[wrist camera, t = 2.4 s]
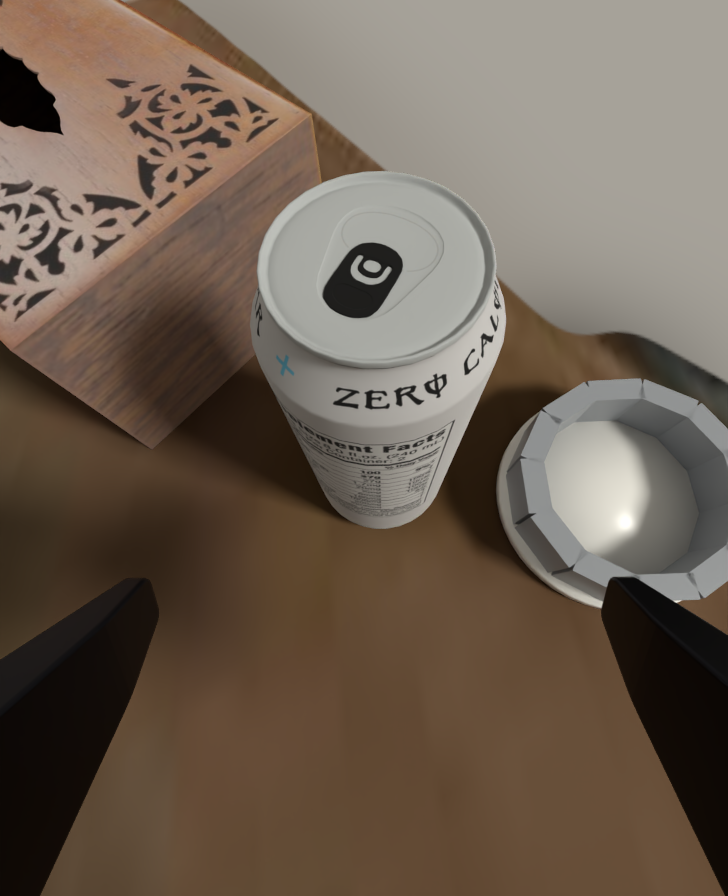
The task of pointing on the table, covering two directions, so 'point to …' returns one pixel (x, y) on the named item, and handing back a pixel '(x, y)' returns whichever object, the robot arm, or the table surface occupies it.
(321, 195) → the energy drink can
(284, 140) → the tissue box cover
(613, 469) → the dock
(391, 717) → the table surface
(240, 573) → the table surface
